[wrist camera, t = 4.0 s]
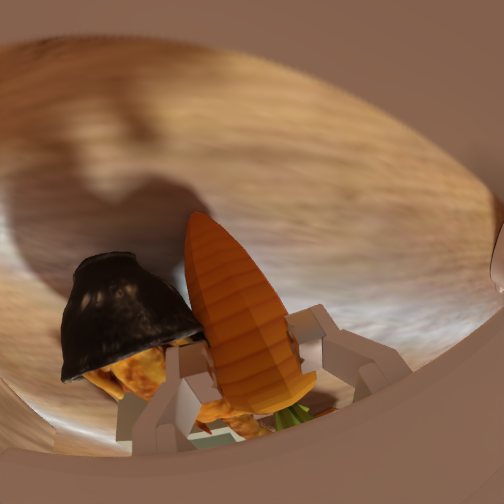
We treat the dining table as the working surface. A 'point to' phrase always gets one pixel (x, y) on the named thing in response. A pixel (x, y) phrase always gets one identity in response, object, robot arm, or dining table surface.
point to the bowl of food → (133, 335)
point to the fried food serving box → (22, 424)
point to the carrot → (243, 326)
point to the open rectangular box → (220, 431)
